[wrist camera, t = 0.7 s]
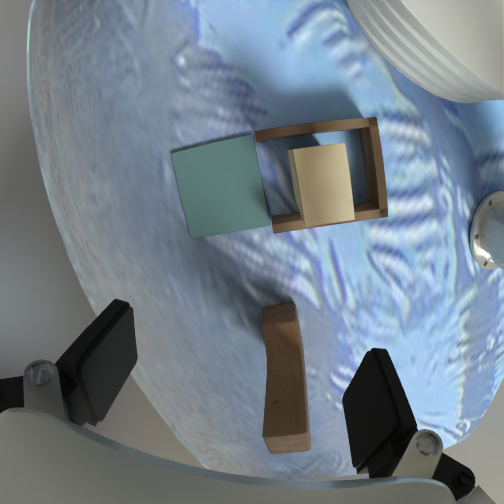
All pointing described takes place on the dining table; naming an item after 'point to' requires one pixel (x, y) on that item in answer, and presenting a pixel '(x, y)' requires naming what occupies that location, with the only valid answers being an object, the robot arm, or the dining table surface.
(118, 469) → the robot arm
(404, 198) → the dining table surface
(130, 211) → the dining table surface
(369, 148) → the crate
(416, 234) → the dining table surface
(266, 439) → the wooden block
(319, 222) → the birch block
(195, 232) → the mat
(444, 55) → the plate stack
